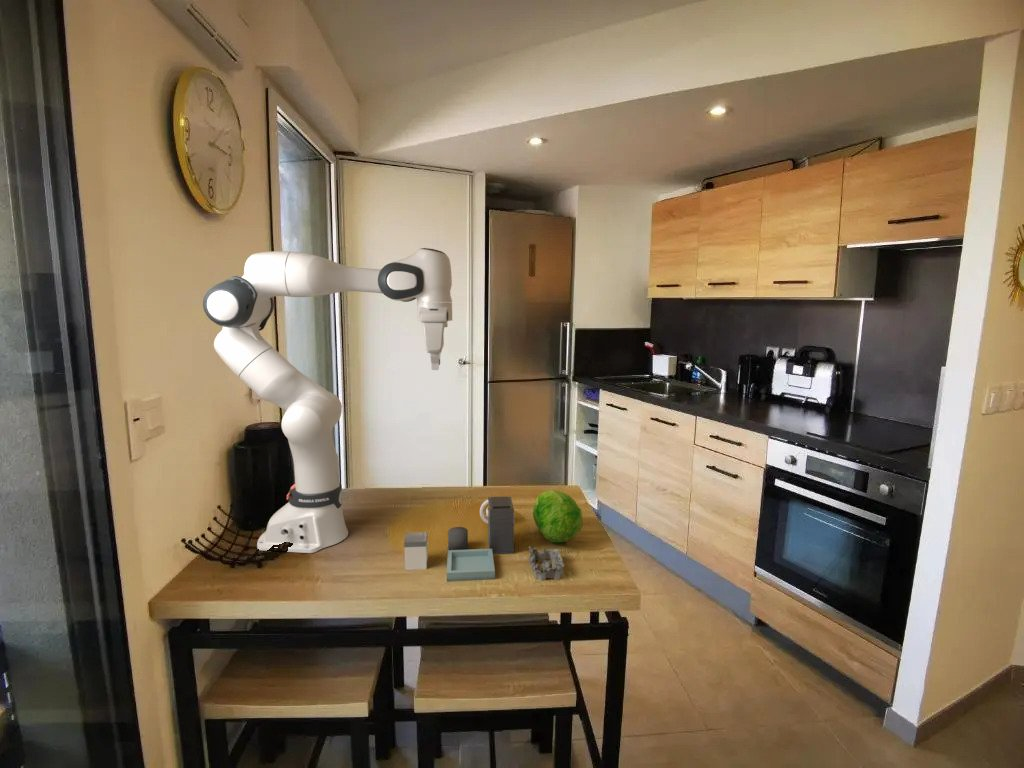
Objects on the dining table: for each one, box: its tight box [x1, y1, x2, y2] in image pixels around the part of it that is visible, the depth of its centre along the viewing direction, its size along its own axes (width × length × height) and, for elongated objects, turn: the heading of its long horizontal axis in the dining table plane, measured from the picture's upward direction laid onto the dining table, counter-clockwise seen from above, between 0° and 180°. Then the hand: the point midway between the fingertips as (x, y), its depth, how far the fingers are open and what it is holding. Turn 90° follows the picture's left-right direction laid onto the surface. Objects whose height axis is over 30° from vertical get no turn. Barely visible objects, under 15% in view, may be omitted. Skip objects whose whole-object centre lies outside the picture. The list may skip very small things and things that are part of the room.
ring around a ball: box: [479, 499, 488, 525], centre depth 147 cm, size 8×6×8 cm
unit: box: [487, 496, 515, 555], centre depth 135 cm, size 6×8×12 cm
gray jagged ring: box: [528, 545, 565, 582], centre depth 124 cm, size 11×8×4 cm
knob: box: [447, 526, 469, 551], centre depth 134 cm, size 5×5×5 cm
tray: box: [446, 548, 496, 582], centre depth 124 cm, size 11×11×2 cm
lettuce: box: [532, 489, 584, 544], centre depth 142 cm, size 13×23×12 cm, turn 5°
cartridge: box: [403, 531, 429, 571], centre depth 126 cm, size 5×5×7 cm
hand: (436, 367), depth 135 cm, fingers open, 8 cm apart
